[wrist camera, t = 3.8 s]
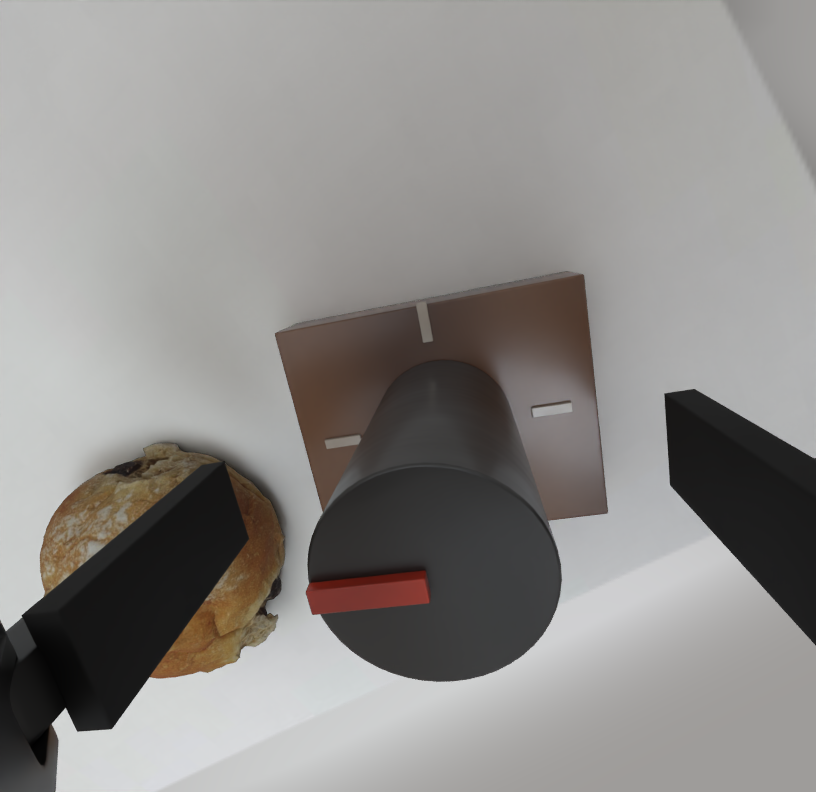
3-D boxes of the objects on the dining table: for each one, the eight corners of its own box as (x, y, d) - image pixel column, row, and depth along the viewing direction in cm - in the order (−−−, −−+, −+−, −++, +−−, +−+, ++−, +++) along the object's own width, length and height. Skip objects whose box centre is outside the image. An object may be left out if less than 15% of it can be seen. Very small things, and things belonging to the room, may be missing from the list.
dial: (502, 348, 17) (548, 451, 8) (521, 477, 18) (579, 686, 10) (364, 372, 18) (272, 490, 9) (392, 494, 19) (335, 703, 10)
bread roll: (277, 418, 25) (161, 401, 18) (339, 619, 23) (237, 697, 16) (127, 485, 28) (-34, 495, 20) (171, 676, 25) (8, 769, 18)
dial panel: (568, 268, 19) (585, 270, 16) (591, 486, 21) (609, 518, 18) (294, 321, 20) (271, 331, 18) (345, 517, 23) (331, 551, 20)
